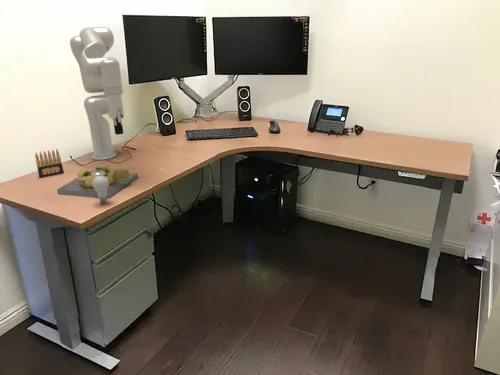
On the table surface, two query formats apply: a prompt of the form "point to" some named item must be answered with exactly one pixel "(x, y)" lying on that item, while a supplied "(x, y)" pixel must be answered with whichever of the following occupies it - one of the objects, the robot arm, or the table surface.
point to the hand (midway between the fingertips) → (119, 133)
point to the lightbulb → (101, 187)
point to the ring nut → (111, 174)
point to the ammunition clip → (49, 164)
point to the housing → (80, 190)
